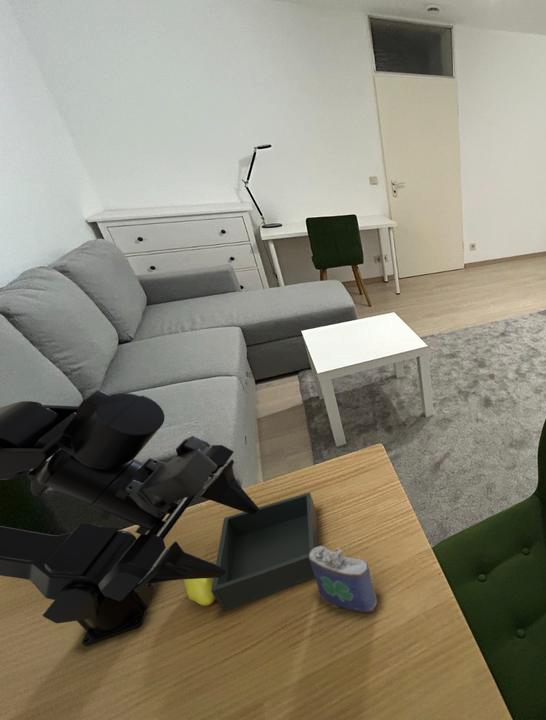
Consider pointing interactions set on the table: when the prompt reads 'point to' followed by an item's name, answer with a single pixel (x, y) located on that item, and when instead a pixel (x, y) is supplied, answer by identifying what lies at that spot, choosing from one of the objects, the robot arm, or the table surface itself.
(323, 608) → the table surface
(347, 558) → the flask
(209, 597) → the yellow rounded oblong piece
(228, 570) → the tray
